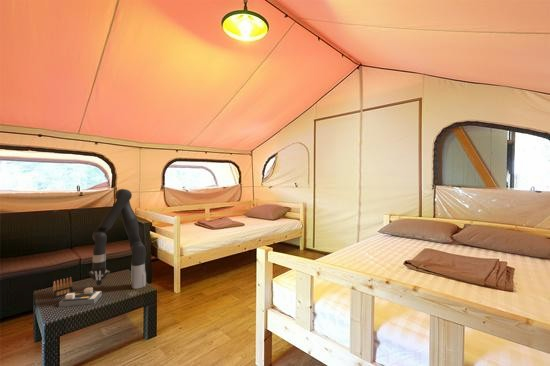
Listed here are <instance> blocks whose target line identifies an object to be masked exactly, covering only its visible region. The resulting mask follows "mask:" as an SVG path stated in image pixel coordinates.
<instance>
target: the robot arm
mask: <svg viewBox="0 0 550 366" xmlns="http://www.w3.org/2000/svg"><path fill="white" fill-rule="evenodd" d="M114 195H115V199H116V200H115V203H114V204H113V206H112V207H111V209H110V210H108V211H107V213H106V214H105V216H104V218H103V219H102V220H101V223H100V224H99V225H98V226H97V227H96V228H95V230H94V231H93V233H92V236H91V237H92V240H93V241H94V246H93V249H92V268H91V271H89V272H88V274H87V275H89V277H91V279H92V280H96V281H95V282H96V285H97V286H101V285H102V284H103V280H104V279H105V278H106V277H107V276H108V274H109V273H110V272H111V271H110V270H108V269H107V266H106V265H107V253H106V246H107V240H108V239H107V238H108V236H107V234H106V233H107V232H108V231H109V230H110V229H111V228H112V227H113V226H114V223H115V222H116V220H117V218H118V217H119V215H121V219H122V220H121V221H122V223H123V227H124V230H125V233H126V235H127V238H128V241H129V249H130V252H131V263H130V266H131V267H130V268H131V272H130V274H131V277H130V279H131V288H132V289H134V290H136V289H141V288H145V286H146V285H147V272H146V258H147V250H146V246H145V245H144V243H143V242H142V239H141V237H140V228H139V227H140V226H139V222H138V218H137V216H136V213H135V212H134V210H133V207H132V206H131V202H130V200H131V198H132V197H133V196H132V195H133V194H132V191H130V190H128V189H125V188H121V189H117V191H116V192H115V194H114Z"/></svg>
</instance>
